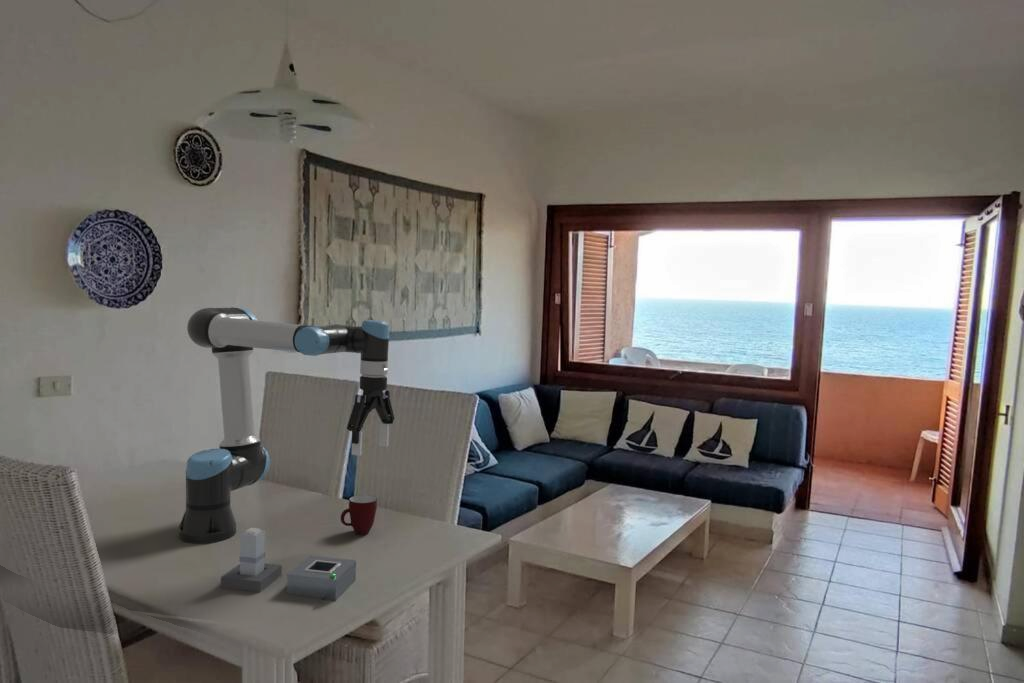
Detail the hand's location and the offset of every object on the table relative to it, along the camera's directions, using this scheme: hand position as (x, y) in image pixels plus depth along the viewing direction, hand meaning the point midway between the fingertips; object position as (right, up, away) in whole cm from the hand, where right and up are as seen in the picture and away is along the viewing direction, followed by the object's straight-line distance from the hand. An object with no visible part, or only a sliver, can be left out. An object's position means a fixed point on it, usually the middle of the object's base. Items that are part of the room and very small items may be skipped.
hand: (370, 450), depth 194 cm
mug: (-6, -26, +9) cm, 28 cm away
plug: (-23, -27, -29) cm, 45 cm away
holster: (-23, -27, -29) cm, 46 cm away
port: (-6, -28, -29) cm, 41 cm away
